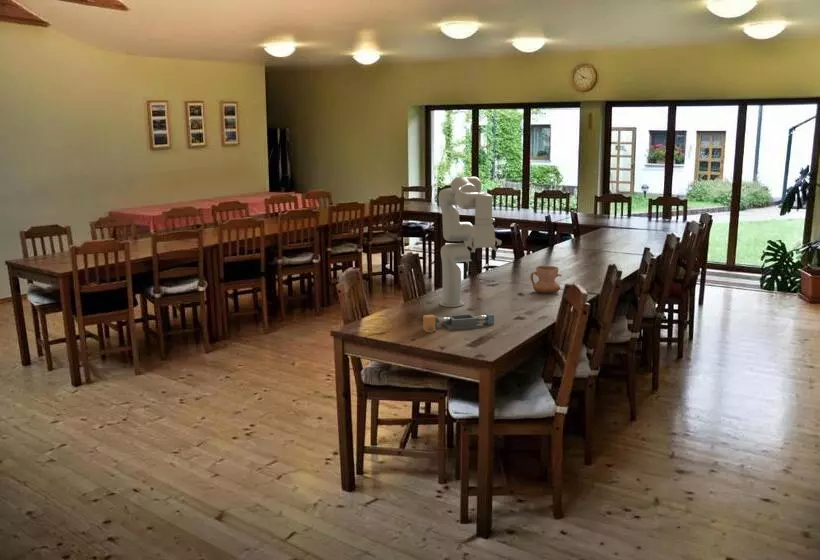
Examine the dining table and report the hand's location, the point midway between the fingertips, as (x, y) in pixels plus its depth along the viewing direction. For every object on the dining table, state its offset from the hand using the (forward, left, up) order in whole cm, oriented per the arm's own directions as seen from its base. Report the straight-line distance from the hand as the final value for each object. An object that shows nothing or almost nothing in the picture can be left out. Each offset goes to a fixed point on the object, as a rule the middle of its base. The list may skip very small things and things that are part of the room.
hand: (483, 260), depth 319 cm
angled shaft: (-7, -17, -31) cm, 36 cm away
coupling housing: (-5, -8, -31) cm, 33 cm away
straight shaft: (-5, +2, -31) cm, 32 cm away
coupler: (-1, -25, -31) cm, 40 cm away
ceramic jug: (-56, +58, -31) cm, 87 cm away
